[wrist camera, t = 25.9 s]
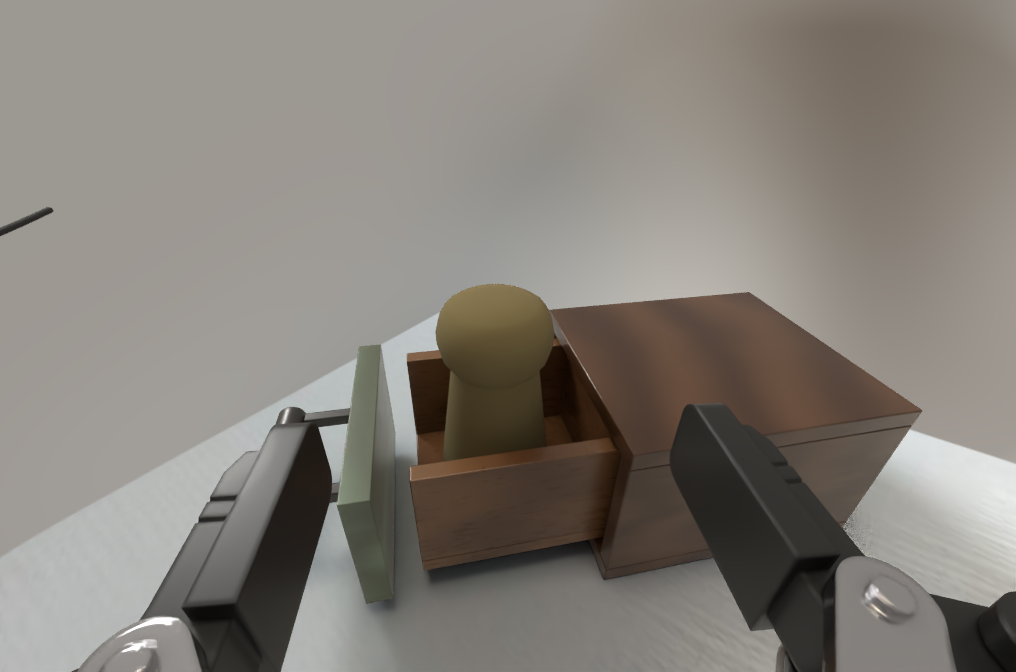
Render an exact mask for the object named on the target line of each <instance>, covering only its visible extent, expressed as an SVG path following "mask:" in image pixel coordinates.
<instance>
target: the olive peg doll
mask: <svg viewBox="0 0 1016 672" xmlns="http://www.w3.org/2000/svg"><path fill="white" fill-rule="evenodd" d="M554 334H555V333H554V328H553V322H552V317H551V313H550V311H549V310H548V308H547V306H546V305H545V303H544V302H543V301H542V300H541V299H540V297H538V296H536V295H534V294H533V293H531V292H529V291H527V290H525V289H522V288H519V287H516V286H511V285H504V284H487V285H479V286H475V287H472V288H468V289H465V290H463V291H461V292H459V293H457V294H455V295H454V296H452V297H451V298H450V299H449V300H448V301H447V302H446V303H445V305H444V307H443V308H442V310H441V311H440V314H439V318H438V323H437V328H436V341H437V345H438V348H439V351H440V354H441V357H442V359H443V362H444V364H445V365H446V366H447V367H448V368H449V369H450V370H451V372H450V383H449V394H448V404H447V415H446V426H445V437H444V447H443V458H442V462H445V461H452V460H458V459H465V458H472V457H479V456H486V455H493V454H499V453H506V452H513V451H520V450H527V449H534V448H541V447H546V436H545V425H544V414H543V403H542V392H541V381H540V369H541V368H542V367H544V366H545V364H546V362H547V359H548V357H549V354H550V352H551V349H552V347H553V343H554Z"/></svg>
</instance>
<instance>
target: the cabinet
mask: <svg viewBox="0 0 1016 672" xmlns="http://www.w3.org/2000/svg"><path fill="white" fill-rule="evenodd" d="M549 311H550V313H551V317H552V322H553V328H554V333H555V334H554V339H556V338H557V339H558V340H559V342H560V344H561V346H562V348H563V350H564V351H565V353H566V355H567V357H568V359H569V360H570V362H571V364H572V366H573V368H574V369H575V371H576V373H577V375H578V377H579V378H580V380H581V382H582V384H583V386H584V387H585V389H586V391H587V393H588V395H589V396H590V398H591V400H592V402H593V404H594V405H595V407H596V409H597V411H598V413H599V414H600V416H601V418H602V420H603V422H604V423H605V425H606V427H607V429H608V431H609V432H610V434H611V436H612V438H613V440H614V441H615V443H616V445H617V447H618V449H619V450H620V452H621V454H622V456H621V460H620V465H619V469H618V474H617V478H616V483H615V487H614V492H613V496H612V501H611V506H610V510H609V515H608V519H607V524H606V528H605V533H604V537H600V538H595V539H590V540H589V542H590V544H591V547H592V550H593V552H594V555H595V557H596V560H597V562H598V565H599V568H600V570H601V573H602V575H603V578H604V579H609V578H614V577H619V576H624V575H629V574H633V573H638V572H643V571H648V570H653V569H658V568H662V567H667V566H672V565H677V564H682V563H687V562H691V561H696V560H701V559H706V558H711V557H713V555H712V553H711V551H710V549H709V547H708V545H707V543H706V541H705V539H704V537H703V535H702V533H701V531H700V530H699V528H698V526H697V524H696V522H695V520H694V518H693V516H692V514H691V512H690V510H689V508H688V506H687V504H686V502H685V500H684V498H683V496H682V494H681V492H680V490H679V488H678V486H677V484H676V482H675V480H674V478H673V475H672V472H671V467H670V452H671V448H672V445H673V441H674V438H675V435H676V431H677V428H678V425H679V422H680V418H681V415H682V412H683V409H684V407H685V406H686V405H688V404H701V403H724V404H725V405H727V406H728V407H729V409H730V410H731V411H732V412H733V414H734V415H735V416H736V418H737V419H738V420H739V422H740V423H741V424H742V425H750V426H751V427H753V428H754V429H755V430H757V431H758V432H760V433H761V434H762V435H764V436H765V437H766V438H768V439H769V440H770V441H772V442H773V444H774V445H775V446H776V447H777V449H778V450H779V451H780V452H781V453H782V455H783V456H784V457H785V458H786V460H787V461H788V465H789V466H792V467H793V468H794V470H795V471H796V472H797V473H798V474H799V476H800V477H801V478H802V482H803V483H806V484H807V486H808V487H809V488H810V489H811V491H812V492H813V493H814V494H815V495H816V497H817V498H818V499H819V500H820V502H821V503H822V504H823V505H824V507H825V508H826V509H827V510H828V512H829V513H830V514H831V515H832V517H833V518H834V519H835V520H836V521H837V523H838V524H839V525H840V526H841V528H842V527H843V526H844V524H845V523H846V520H848V518H849V517H850V515H851V514H852V512H853V511H854V509H855V508H856V506H857V505H858V504H859V502H860V501H861V499H862V498H863V496H864V495H865V493H866V492H867V490H868V489H869V488H870V486H871V485H872V483H873V482H874V480H875V479H876V477H877V476H878V474H879V473H880V472H881V470H882V469H883V467H884V466H885V464H886V463H887V461H888V460H889V458H890V457H891V456H892V454H893V453H894V451H895V450H896V448H897V447H898V445H899V444H900V442H901V441H902V440H903V438H904V437H905V435H906V434H907V432H908V431H909V429H910V428H911V425H913V423H914V422H915V421H916V419H917V418H918V417H919V415H920V414H921V412H922V410H921V409H920V408H918V407H917V406H915V405H914V404H912V403H911V402H909V401H908V400H907V399H905V398H904V397H902V396H901V395H899V394H898V393H896V392H894V391H893V390H892V389H890V388H889V387H887V386H886V385H885V384H883V383H882V382H880V381H879V380H877V379H876V378H874V377H873V376H871V375H870V374H868V373H867V372H865V371H864V370H863V369H861V368H860V367H858V366H856V365H855V364H854V363H852V362H851V361H849V360H848V359H846V358H845V357H843V356H842V355H841V354H839V353H838V352H836V351H835V350H833V349H831V348H830V347H829V346H827V345H826V344H824V343H823V342H821V341H820V340H818V339H817V338H815V337H814V336H813V335H811V334H810V333H808V332H807V331H805V330H804V329H802V328H801V327H799V326H798V325H796V324H795V323H793V322H792V321H791V320H789V319H787V318H786V317H785V316H783V315H782V314H780V313H779V312H777V311H776V310H774V309H773V308H772V307H770V306H769V305H767V304H766V303H764V302H763V301H761V300H760V299H758V298H757V297H755V296H754V295H752V294H751V293H749V292H746V293H734V294H723V295H712V296H700V297H689V298H678V299H667V300H655V301H644V302H633V303H621V304H610V305H599V306H587V307H576V308H565V309H553V310H549Z"/></svg>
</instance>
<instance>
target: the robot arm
mask: <svg viewBox="0 0 1016 672" xmlns="http://www.w3.org/2000/svg"><path fill="white" fill-rule="evenodd" d="M52 212H53V209H52V208H50V207H46V208H44V209H42V210H39V211H37V212H35V213H33V214H31V215H28V216H26V217H24V218H21V219H19V220H17V221H15V222H13V223H10V224H7V225H5V226H3V227H0V236H2V235H5V234H7V233H9V232H12V231H14V230H16V229H18V228H21V227H23V226H25V225H27V224H29V223H31V222H34V221H36V220H38V219H40V218H42V217H44V216H46V215H48V214H50V213H52ZM670 467H671V472H672V475H673V478H674V480H675V482H676V484H677V486H678V488H679V490H680V492H681V494H682V496H683V498H684V500H685V502H686V504H687V506H688V508H689V510H690V512H691V514H692V516H693V518H694V520H695V522H696V524H697V526H698V528H699V530H700V531H701V533H702V535H703V537H704V539H705V541H706V543H707V545H708V547H709V549H710V551H711V553H712V555H713V557H714V559H715V561H716V563H717V565H718V567H719V569H720V571H721V573H722V575H723V577H724V579H725V581H726V583H727V585H728V587H729V589H730V591H731V593H732V595H733V597H734V599H735V601H736V603H737V605H738V607H739V608H740V610H741V612H742V614H743V616H744V618H745V620H746V622H747V624H748V626H749V628H750V630H751V631H756V630H766V629H774V630H775V631H776V633H777V635H778V637H779V639H780V640H781V642H782V643H781V644H780V646H779V648H778V652H777V661H776V672H1016V591H1015V592H1009V593H1006V594H1004V595H1003V596H1002V597H1001V598H999V599H998V600H997V601H996V602H995V603H994V604H992V605H991V606H990V607H984V606H980V605H976V604H971V603H967V602H963V601H958V600H954V599H950V598H945V597H941V596H937V595H932V594H929V593H928V592H927V591H926V590H925V589H924V588H923V587H922V586H921V585H920V584H918V583H917V582H916V581H915V580H914V579H912V578H911V577H910V576H908V575H907V574H905V573H904V572H902V571H901V570H899V569H897V568H896V567H894V566H892V565H890V564H888V563H885V562H883V561H880V560H877V559H874V558H870V557H866V556H865V555H864V554H863V553H862V552H861V551H860V550H859V549H858V547H857V546H856V545H855V544H854V542H853V541H852V540H851V539H850V538H849V536H848V535H847V534H846V533H845V531H844V530H843V529H842V528H841V526H840V525H839V524H838V523H837V521H836V520H835V519H834V518H833V517H832V515H831V514H830V513H829V512H828V510H827V509H826V508H825V507H824V505H823V504H822V503H821V502H820V500H819V499H818V498H817V497H816V495H815V494H814V493H813V492H812V491H811V489H810V488H809V487H808V486H807V484H806V483H803V482H802V478H801V477H800V476H799V474H798V473H797V472H796V471H795V470H794V468H793V467H792V466H789V465H788V461H787V460H786V458H785V457H784V456H783V455H782V453H781V452H780V451H779V450H778V449H777V447H776V446H775V445H774V444H773V442H772V441H770V440H769V439H768V438H766V437H765V436H764V435H762V434H761V433H760V432H758V431H757V430H755V429H754V428H753V427H751V426H750V425H742V424H741V423H740V422H739V420H738V419H737V418H736V416H735V415H734V414H733V412H732V411H731V410H730V409H729V407H728V406H727V405H725V404H724V403H701V404H688V405H686V406H685V407H684V409H683V412H682V415H681V418H680V422H679V425H678V428H677V431H676V435H675V438H674V441H673V445H672V448H671V452H670ZM331 492H332V475H331V469H330V466H329V463H328V459H327V456H326V452H325V449H324V445H323V442H322V439H321V435H320V432H319V429H318V426H317V424H316V423H314V422H308V423H289V424H276V425H274V426H273V427H272V428H271V430H270V432H269V434H268V436H267V438H266V440H265V442H264V444H263V446H262V448H261V450H260V451H249V452H245V453H244V454H243V455H242V456H241V457H240V458H239V459H238V460H237V461H236V462H235V463H234V464H233V465H232V466H231V467H230V468H229V469H227V470H226V471H225V472H224V474H223V475H222V477H221V479H220V481H219V482H218V484H217V486H216V488H215V490H214V491H213V493H212V495H211V497H210V502H207V504H206V506H205V507H204V509H203V511H202V513H201V514H200V516H199V522H198V523H195V525H194V527H193V529H192V530H191V532H190V534H189V536H188V538H187V539H186V541H185V543H184V545H183V546H182V548H181V550H180V552H179V554H178V555H177V557H176V559H175V561H174V562H173V564H172V566H171V568H170V570H169V571H168V573H167V575H166V577H165V578H164V580H163V582H162V584H161V586H160V587H159V589H158V591H157V593H156V594H155V596H154V598H153V600H152V602H151V603H150V605H149V607H148V608H147V610H146V611H145V613H144V615H143V616H142V617H141V619H140V620H139V621H138V622H136V623H134V624H132V625H130V626H128V627H126V628H124V629H122V630H121V631H119V632H118V633H116V634H115V635H113V636H112V637H110V638H109V639H108V640H107V641H105V642H104V643H103V644H102V645H101V646H100V647H98V648H97V649H96V650H95V651H94V652H93V653H92V654H91V655H90V656H89V657H88V659H87V660H86V661H85V662H84V663H83V664H82V666H81V667H80V668H79V669H76V670H74V671H72V672H281V668H282V665H283V661H284V658H285V654H286V651H287V648H288V644H289V641H290V637H291V634H292V630H293V627H294V623H295V620H296V616H297V613H298V610H299V606H300V603H301V599H302V596H303V592H304V589H305V585H306V582H307V578H308V575H309V572H310V568H311V565H312V561H313V558H314V554H315V551H316V547H317V544H318V540H319V537H320V534H321V530H322V527H323V523H324V520H325V516H326V513H327V509H328V506H329V502H330V498H331Z"/></svg>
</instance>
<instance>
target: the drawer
mask: <svg viewBox="0 0 1016 672" xmlns="http://www.w3.org/2000/svg"><path fill="white" fill-rule="evenodd" d="M407 366H408V374H409V381H410V389H411V397H412V404H413V412H414V419H415V427H416V434H417V457H418V465H417V466H411V467H410V468H409V472H410V486H411V493H412V499H413V506H414V512H415V519H416V525H417V531H418V538H419V544H420V551H421V557H422V564H423V569H424V570H430V569H436V568H441V567H446V566H452V565H457V564H462V563H468V562H473V561H478V560H483V559H489V558H494V557H499V556H505V555H510V554H515V553H521V552H526V551H531V550H536V549H542V548H547V547H552V546H558V545H563V544H568V543H574V542H579V541H584V540H590V539H595V538H600V537H604V533H605V528H606V524H607V519H608V515H609V510H610V506H611V501H612V496H613V492H614V487H615V483H616V478H617V474H618V469H619V465H620V460H621V456H622V454H621V452H620V450H619V449H618V447H617V445H616V443H615V441H614V440H613V438H612V436H611V434H610V432H609V431H608V429H607V427H606V425H605V423H604V422H603V420H602V418H601V416H600V414H599V413H598V411H597V409H596V407H595V405H594V404H593V402H592V400H591V398H590V396H589V395H588V393H587V391H586V389H585V387H584V386H583V384H582V382H581V380H580V378H579V377H578V375H577V373H576V371H575V369H574V368H573V366H572V364H571V362H570V360H569V359H568V357H567V355H566V353H565V351H564V350H563V348H562V346H561V344H560V342H559V340H558V339H557V338H556V339H554V343H553V347H552V349H551V352H550V354H549V357H548V359H547V362H546V364H545V366H544V367H542V368H541V369H540V381H541V392H542V403H543V414H544V425H545V436H546V447H541V448H534V449H527V450H520V451H513V452H506V453H499V454H493V455H486V456H479V457H472V458H465V459H458V460H452V461H445V462H442V458H443V447H444V437H445V426H446V415H447V404H448V394H449V383H450V372H451V370H450V369H449V368H448V367H447V366H446V365H445V364H444V362H443V359H442V357H441V354H440V351H439V350H437V351H427V352H417V353H408V354H407ZM308 422H314V423H316V424H317V426H318V427H324V426H331V425H339V424H347V423H348V428H347V435H346V443H345V450H344V457H343V464H342V471H341V478H340V483H333V484H332V492H331V498H330V502H329V503H332V502H337V508H338V511H339V515H340V518H341V521H342V525H343V528H344V531H345V535H346V538H347V541H348V545H349V548H350V551H351V554H352V558H353V561H354V564H355V568H356V571H357V574H358V578H359V581H360V584H361V588H362V591H363V594H364V598H365V601H366V603H367V604H368V603H373V602H378V601H383V600H388V599H393V597H394V509H395V427H394V421H393V415H392V409H391V404H390V398H389V392H388V386H387V380H386V374H385V368H384V362H383V356H382V350H381V345H371V346H360V347H359V349H358V357H357V364H356V371H355V378H354V385H353V392H352V400H351V407H350V408H349V409H340V410H332V411H324V412H315V413H307V414H306V413H305V412H304V411H303V410H302V409H300V408H297V407H288V408H285V409H283V410H282V411H281V412H280V413H279V416H278V419H277V422H276V424H289V423H308Z"/></svg>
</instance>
